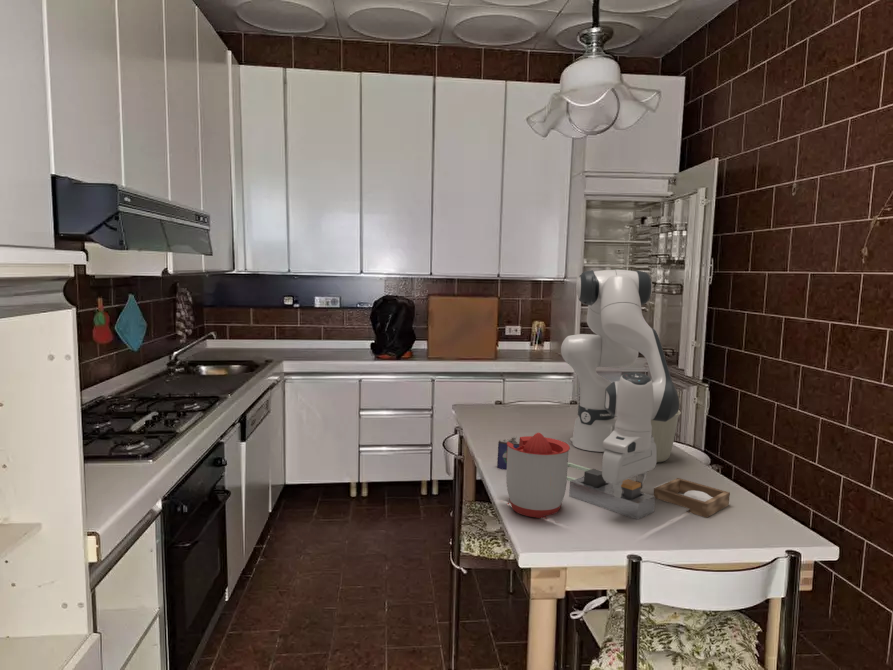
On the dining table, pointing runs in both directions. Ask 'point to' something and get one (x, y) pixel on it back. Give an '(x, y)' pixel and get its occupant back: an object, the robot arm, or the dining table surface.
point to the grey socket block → (612, 499)
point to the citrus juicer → (536, 475)
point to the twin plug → (594, 478)
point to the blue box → (504, 451)
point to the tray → (576, 468)
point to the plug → (631, 489)
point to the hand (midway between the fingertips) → (628, 492)
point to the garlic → (697, 495)
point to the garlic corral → (695, 506)
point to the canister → (664, 436)
